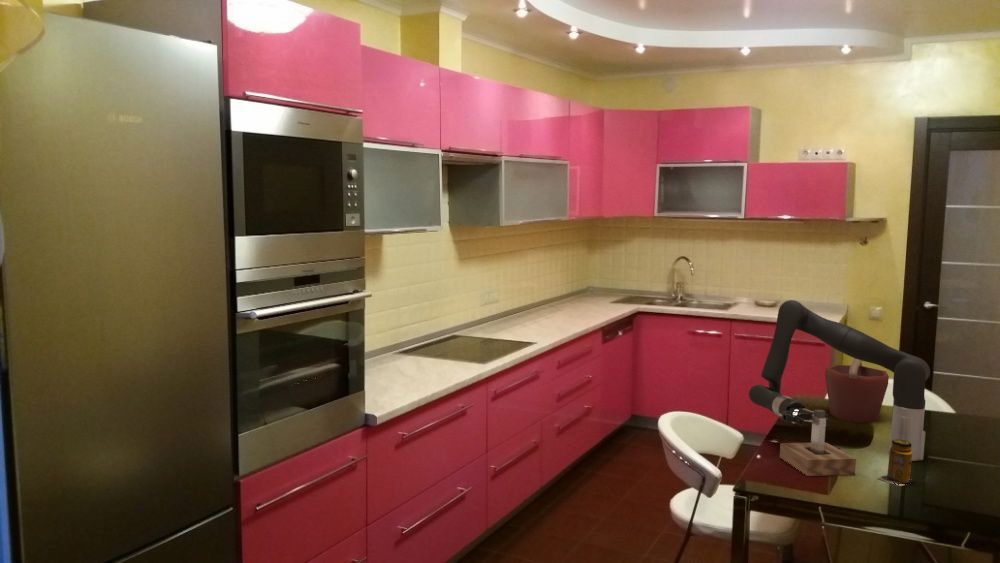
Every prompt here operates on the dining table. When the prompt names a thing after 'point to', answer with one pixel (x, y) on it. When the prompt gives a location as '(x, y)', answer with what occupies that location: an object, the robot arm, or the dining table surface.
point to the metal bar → (818, 432)
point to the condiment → (899, 462)
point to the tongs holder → (817, 460)
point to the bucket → (855, 391)
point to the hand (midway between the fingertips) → (815, 422)
